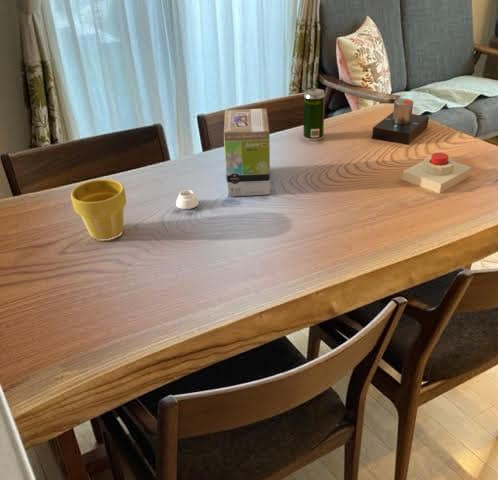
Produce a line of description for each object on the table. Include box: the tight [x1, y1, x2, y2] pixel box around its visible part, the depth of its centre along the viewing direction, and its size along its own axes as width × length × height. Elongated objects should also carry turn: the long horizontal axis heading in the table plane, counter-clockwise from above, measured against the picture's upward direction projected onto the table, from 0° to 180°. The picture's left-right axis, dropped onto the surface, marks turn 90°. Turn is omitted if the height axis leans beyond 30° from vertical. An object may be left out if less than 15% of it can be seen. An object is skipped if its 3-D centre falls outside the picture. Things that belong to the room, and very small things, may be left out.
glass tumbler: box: [392, 98, 415, 125], centre depth 142 cm, size 5×5×6 cm
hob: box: [371, 111, 430, 146], centre depth 145 cm, size 14×10×3 cm
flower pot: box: [70, 178, 127, 242], centre depth 108 cm, size 10×10×10 cm
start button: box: [431, 152, 450, 166], centre depth 121 cm, size 4×4×2 cm
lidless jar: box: [175, 189, 200, 210], centre depth 118 cm, size 5×3×5 cm
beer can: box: [302, 88, 326, 142], centre depth 142 cm, size 5×5×12 cm
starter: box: [401, 155, 473, 194], centre depth 122 cm, size 12×10×4 cm
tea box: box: [223, 108, 271, 197], centre depth 122 cm, size 15×10×15 cm, turn 1°
